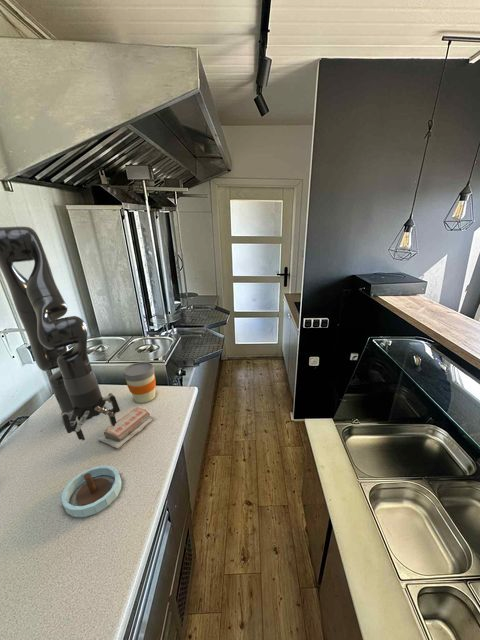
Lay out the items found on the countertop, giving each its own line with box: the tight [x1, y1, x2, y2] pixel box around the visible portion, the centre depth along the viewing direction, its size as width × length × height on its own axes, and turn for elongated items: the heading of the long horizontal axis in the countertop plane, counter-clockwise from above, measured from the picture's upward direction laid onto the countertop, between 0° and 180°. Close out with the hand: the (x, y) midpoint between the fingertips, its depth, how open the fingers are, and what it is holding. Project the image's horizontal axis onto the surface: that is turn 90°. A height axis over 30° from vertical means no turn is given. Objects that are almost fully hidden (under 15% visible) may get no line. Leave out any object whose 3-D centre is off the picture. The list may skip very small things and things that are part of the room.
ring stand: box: [75, 473, 112, 506], centre depth 85 cm, size 9×9×8 cm
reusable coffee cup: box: [123, 361, 157, 404], centre depth 128 cm, size 13×13×15 cm
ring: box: [60, 465, 122, 518], centre depth 86 cm, size 15×15×3 cm
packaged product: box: [98, 406, 155, 450], centre depth 110 cm, size 18×5×10 cm
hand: (98, 431), depth 87 cm, fingers open, 8 cm apart
